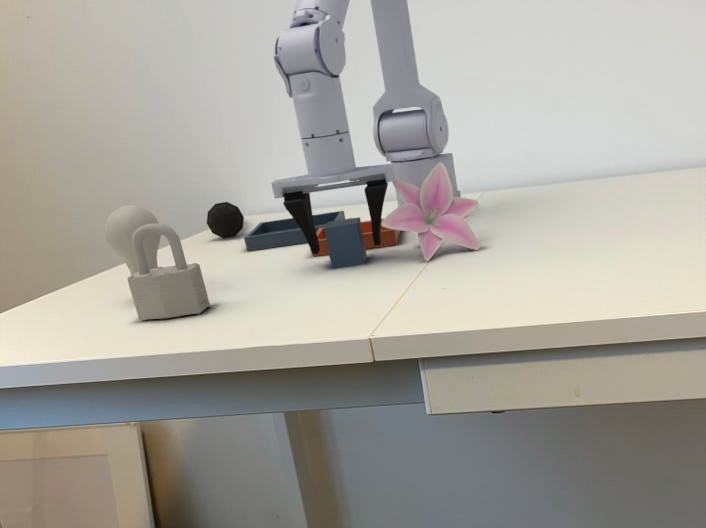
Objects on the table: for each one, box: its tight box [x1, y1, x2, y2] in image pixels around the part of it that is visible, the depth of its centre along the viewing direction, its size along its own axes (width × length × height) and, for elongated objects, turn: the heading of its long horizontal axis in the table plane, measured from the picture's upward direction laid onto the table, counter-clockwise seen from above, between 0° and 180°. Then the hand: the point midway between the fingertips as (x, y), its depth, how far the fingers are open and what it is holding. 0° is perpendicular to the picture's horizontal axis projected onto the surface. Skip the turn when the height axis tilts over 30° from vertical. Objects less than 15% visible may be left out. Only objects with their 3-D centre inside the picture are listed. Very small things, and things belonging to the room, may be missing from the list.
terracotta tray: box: [311, 218, 401, 257], centre depth 110 cm, size 11×9×2 cm
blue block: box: [324, 216, 368, 269], centre depth 99 cm, size 4×4×5 cm
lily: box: [381, 163, 481, 262], centre depth 98 cm, size 12×12×10 cm
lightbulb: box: [104, 204, 162, 275], centre depth 96 cm, size 6×6×11 cm
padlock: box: [127, 222, 211, 321], centre depth 86 cm, size 7×4×10 cm, turn 87°
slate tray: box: [243, 210, 346, 252], centre depth 120 cm, size 13×11×2 cm
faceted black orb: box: [206, 201, 245, 239], centre depth 134 cm, size 6×6×20 cm
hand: (347, 248), depth 99 cm, fingers open, 7 cm apart
